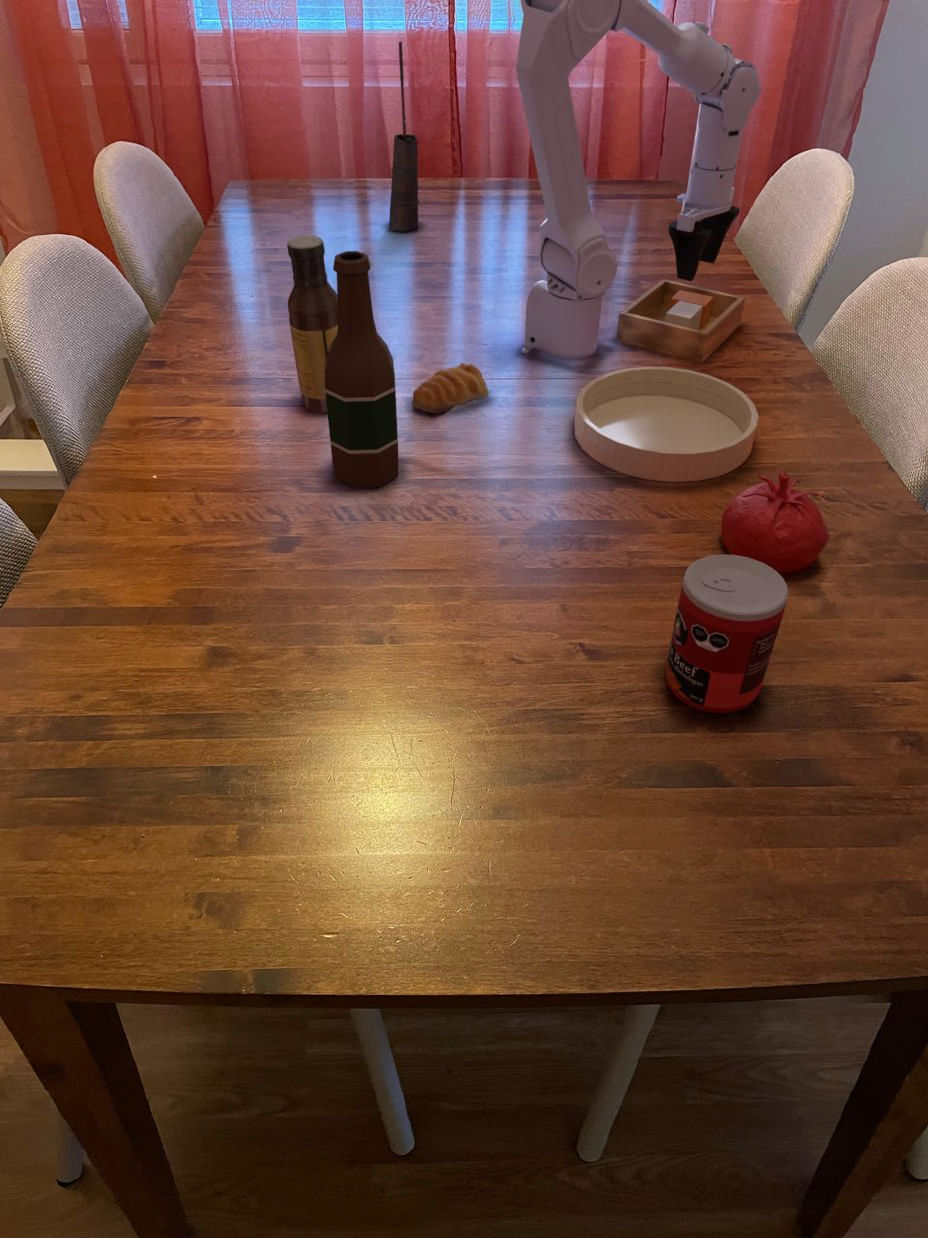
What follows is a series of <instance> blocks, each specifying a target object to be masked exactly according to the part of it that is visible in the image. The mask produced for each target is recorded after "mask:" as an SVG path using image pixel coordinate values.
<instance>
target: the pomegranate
mask: <svg viewBox="0 0 928 1238" xmlns="http://www.w3.org/2000/svg"><path fill="white" fill-rule="evenodd" d="M758 478H759V479H760V480H762V481H764V482H760V483H758V484H756V485H752V486H751V487H749V488H746V489H745V490H743V491H742V492H741V493H740V494H738V495H737V496H735V497H734V498H733V499H732V500H731V501H730V502H729V504H727V506H726V507H725V509H724V512H723V514H722V520H721V526H720V527H721V528H720V529H721V530H720V531H721V533H720V535H721V537H720V539H721V542H722V544H723V546H724V547H725V549H726V550H727V551H728V552H729V555H737V556H743V557H747V558H751V559H754V560H757V561H759V562H762V563H764V564H766V565H767V566H769V567H771V568H772V569H774V570H775V571H776V572H778V573H779V575H786V574H793V573H795V572H798V571H801V570H804V569H805V568H808V566H810V565H812V563H813V562H814V561H816V559H817V558H818V557H819V556H820V555H821V553H822V552H823V551H824V549H825V547H826V544H827V542H828V540H829V538H830V534H829V532H828V529H827V526H826V524H825V522H824V520H823V515H822V512H821V511H820V510H819V508H818V507H817V505H816V503H815V502H814V501H813V500H812V499H811V498H810V497H809V496H808V495H811V496H817V497H821V498H825V495H821V494H818V493H815V492H812V491H803V490H801V489H794V488H793V487H794V485H795V484H796V483H799V484H800V483H802V479H801V478H800V479H798V478H794V479H792V480H791V482H790V479H791V477H790V475H789V474H788V473H787V472H786V471H780V473H779V474H778V482H774V481H773V480H772V479H770V478H769V477H768V476H763V475H761V474H760V473H759V474H758ZM789 482H790V483H789Z"/></svg>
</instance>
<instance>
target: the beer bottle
mask: <svg viewBox="0 0 928 1238" xmlns="http://www.w3.org/2000/svg"><path fill="white" fill-rule="evenodd" d="M370 270H371V261H370V258H369V255H368V254H366V253H363V252H361V251H358V250H346V251H343V252H341V253H338V254H335V255H334V261H333V268H332V271H334V272H335V273H336V293H337V305H338V331H337V335H336V336H335V338H334V340H333V341H332V343H331V345H330V346H329V350H328V354H327V358H326V365H325V394H326V404H327V413H326V414H327V422H328V433H329V441H330V442H329V443H330V452H331V453H330V454H331V461H332V468H333V474H334V478H335V479H336V480H338V481H339V482H341V483H343V484H345V485H347V486H349V487H351V488H353V489H369V488H370V489H373V488H376V489H377V488H380V487H382V486H384V485H386V484H388V483H389V482H391V481H393V480H394V479H396V478H398V475H399V435H398V433H399V432H398V415H397V414H398V413H397V412H398V411H397V393H396V392H397V391H396V389H397V388H396V373H395V365H394V358H393V355H392V353H391V350H390V348H389V346H388V344H387V343H386V341H385V340H384V339H383V338H382V336H381V335H380V334H379V332H378V330H377V325H376V322H375V318H374V310H373V301H372V294H371V286H370V285H371V284H370V277H369V271H370Z"/></svg>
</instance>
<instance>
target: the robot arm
mask: <svg viewBox="0 0 928 1238" xmlns="http://www.w3.org/2000/svg"><path fill="white" fill-rule="evenodd" d="M519 3H520V8H521V13H522V21H521V22H522V23H521V28H520V35H519V42H518V49H517V56H516V62H515V72H516V73H515V74H516V79H517V83H518V88H519V93H520V98H521V103H522V107H523V111H524V112H523V113H524V117H525V121H526V125H527V131H528V135H529V140H530V145H531V150H532V153H533V154H532V155H533V158H534V163H535V168H536V173H537V177H538V181H539V186H540V191H541V194H542V199H543V200H542V201H543V205H544V210H545V214H546V219H545V220H544V221H543V222H542V223H541V224H540V225H539V227H538V229H539V230H538V231H539V234H540V244H539V250H538V261H539V264H540V266H541V268H542V270H543V271H545V272H546V276H545V280H544V279H540V280H538V281H537V282H535V284H534V285H533V286H532V288H531V289H530V291H529V293H528V296H527V301H526V305H525V306H526V307H525V322H524V323H525V324H524V325H525V326H524V344H523V346H524V347H523V348H521V353H522V354H523V355H526V354H527V353H528V352H530V351H531V350H533V349H537V350H541V351H543V352H546V353H548V354H550V355H551V356H555V357H558V358H563V359H583V358H587V357H590V356H591V355H593V354H595V353H596V351H597V349H598V342H599V331H600V321H601V311H602V302H603V296H605V294H606V291H607V290H608V289H609V288H610V286H611V285H612V284H613V281H614V279H615V277H616V274H617V269H618V260H617V257H616V254H615V253H614V251H613V250H612V249H611V248H610V247H609V245H608V242H607V238H606V237H607V236H606V233H605V232H604V230H603V228H602V226H601V224H600V223H599V222H598V220H597V218H596V217H595V215H594V214H593V212H592V207H591V201H590V196H589V191H588V185H587V177H586V173H585V167H584V161H583V157H582V151H581V150H582V149H581V145H580V139H579V133H578V128H577V123H576V122H577V121H576V116H575V111H574V106H573V99H572V94H571V88H570V83H569V77H570V75H571V74H572V72H573V71H574V69H575V68H576V67H577V66H578V65H579V64H580V63H581V62H582V60H584V59H585V57H586V56H587V55H588V54H589V53H590V52H591V51H592V50H593V49H594V48H595V47H596V45H597V44H598V43H599V42H600V41H601V40H602V39H603V38H604V37H605V36H606V35H607V34H608V33H609V31H612V32H615V33H616V32H619V31H621V32H622V33H625V34H626V35H628V36H630V37H631V38H632V39H634V40H636V41H637V42H639V43H640V44H642V45H644V46H645V47H647V48H648V49H650V50H651V51H652V52H654V53H656V54H658V67H659V69H660V71H661V72H662V73H663V74H664V75H665V76H666V77H668V78H669V79H671V80H672V81H674V82H675V83H677V84H678V85H679V86H681V87H682V88H683V89H685V90H687V91H688V92H689V93H690V94H691V95H692V98H693V100H694V103H696V104H699V107H698V113H697V120H696V128H695V134H694V140H693V141H694V142H693V146H692V147H693V148H692V155H691V160H690V161H691V162H690V166H689V167H690V168H689V174H688V181H687V182H688V183H687V188H686V193H680V194H679V195H677V198H676V203H678V204H682V209H681V212H680V213H678V217H677V220H673V221H672V222H670V223H669V224H668V228H667V229H668V231H667V232H668V235H669V237H670V239H671V242H672V246H673V249H674V255H675V256H674V257H675V266H676V267H675V269H676V276H677V279H679V280H683V281H689V282H693V281H694V279H695V276H696V275H697V272H698V268H699V264H700V262H704V263H708V264H712V265H713V264H714V263H715V262H716V260H717V258H718V256H719V253H720V250H721V248H722V246H723V243H724V241H725V238H726V236H727V234H728V232H729V230H730V228H731V226H732V224H733V223H734V221H735V219H737V217H738V216H739V214H740V210H741V209H740V207H738V206H734V205H732V203H733V200H734V195H735V188H736V187H734V181H735V176H736V171H737V165H738V160H739V153H740V149H741V144H742V143H741V142H742V137H743V131H744V129H745V127H746V124H748V123H749V117H750V113H751V111H752V109H753V108H754V106H755V105H756V103H757V102H758V101H759V97H760V96H761V93H762V88H763V86H762V85H761V84H760V77H759V74H758V72H757V71H758V70H757V68H756V66H755V65H754V64H753V63H752V62H750V61H747V60H743V59H740V58H736V57H735V56H734V54H733V52H734V48H733V47H732V46H731V45H729V44H726V43H722V44H721V43H720V42H718V41H717V40H715V38H713V37H712V36H710V35H709V34H708V33H709V31H710V27H709V26H708V25H706V23H704V22H700V21H695V22H694V23H693V22H689V21H688V22H683V23H680V24H678V25H676V24H675V23H673V22H672V21H671V20H670V19H669V18H667V16H666V15H664V14H663V13H662V12H661V11H660V10H659V9H657V8H656V7H655V6H654V5H652V3H650V2H649V1H648V0H519Z"/></svg>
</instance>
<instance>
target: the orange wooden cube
mask: <svg viewBox="0 0 928 1238" xmlns="http://www.w3.org/2000/svg"><path fill="white" fill-rule="evenodd" d="M713 298H714V297H711V296H706V295H702V294H697V293H692V292H687V291H682V290H680V291H679V292H678V293H676V294H675V295H674V296H673V297H672V298H671V304H670V309H671V308H672V307H673V306H674V305H676V304H677V303H678V302H679V301H683V302H688V303H693V304H697V305H702V306H703V310H702V316H701V322H700V328H699V329H702V328H703V327H704V326H705V325H706V324H707V323H708V322H709V320H710V315H711V309H712V304H713Z"/></svg>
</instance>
